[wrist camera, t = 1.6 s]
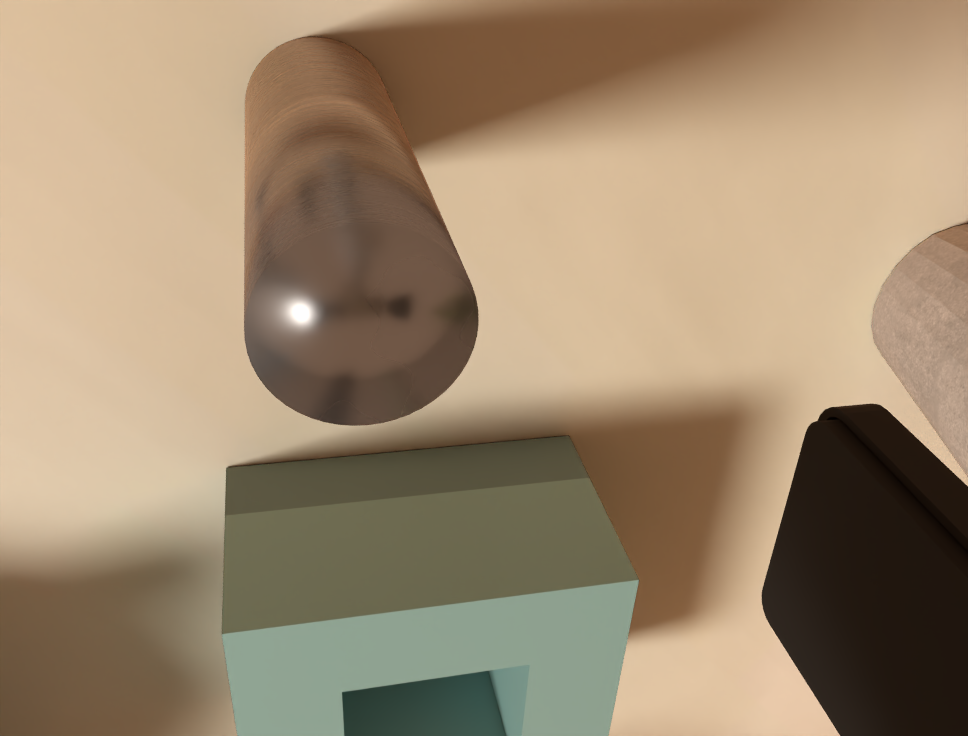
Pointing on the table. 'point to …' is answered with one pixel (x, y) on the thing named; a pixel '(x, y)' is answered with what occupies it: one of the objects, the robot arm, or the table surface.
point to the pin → (345, 245)
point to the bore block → (424, 594)
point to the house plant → (931, 333)
